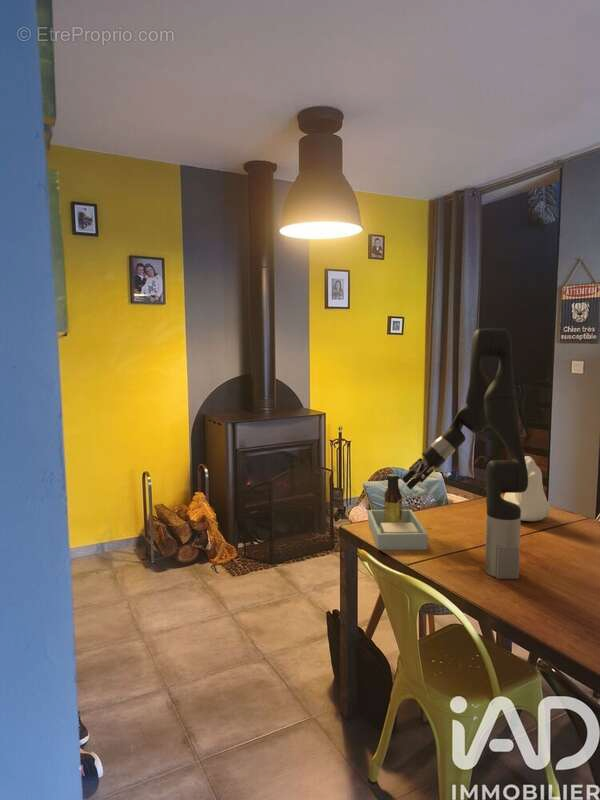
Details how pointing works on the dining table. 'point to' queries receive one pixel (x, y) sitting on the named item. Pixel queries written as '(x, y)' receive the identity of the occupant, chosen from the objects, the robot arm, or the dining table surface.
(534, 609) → the dining table surface
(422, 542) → the tote
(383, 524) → the tan rectangular block
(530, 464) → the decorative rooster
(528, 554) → the dining table surface
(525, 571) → the dining table surface
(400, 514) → the sauce bottle
